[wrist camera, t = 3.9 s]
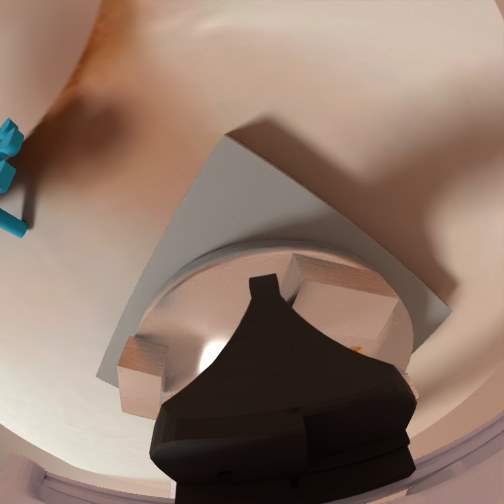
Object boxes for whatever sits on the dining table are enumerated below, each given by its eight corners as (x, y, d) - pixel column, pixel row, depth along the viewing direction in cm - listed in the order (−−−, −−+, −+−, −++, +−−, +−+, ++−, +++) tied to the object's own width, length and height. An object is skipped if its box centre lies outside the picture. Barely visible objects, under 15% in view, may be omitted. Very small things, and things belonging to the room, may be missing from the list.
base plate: (289, 428, 24) (292, 447, 22) (103, 357, 19) (94, 378, 17) (438, 296, 18) (453, 313, 16) (225, 133, 13) (223, 135, 11)
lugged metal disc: (232, 444, 21) (232, 483, 17) (87, 322, 15) (60, 370, 11) (413, 372, 18) (433, 411, 14) (350, 175, 12) (395, 200, 8)
